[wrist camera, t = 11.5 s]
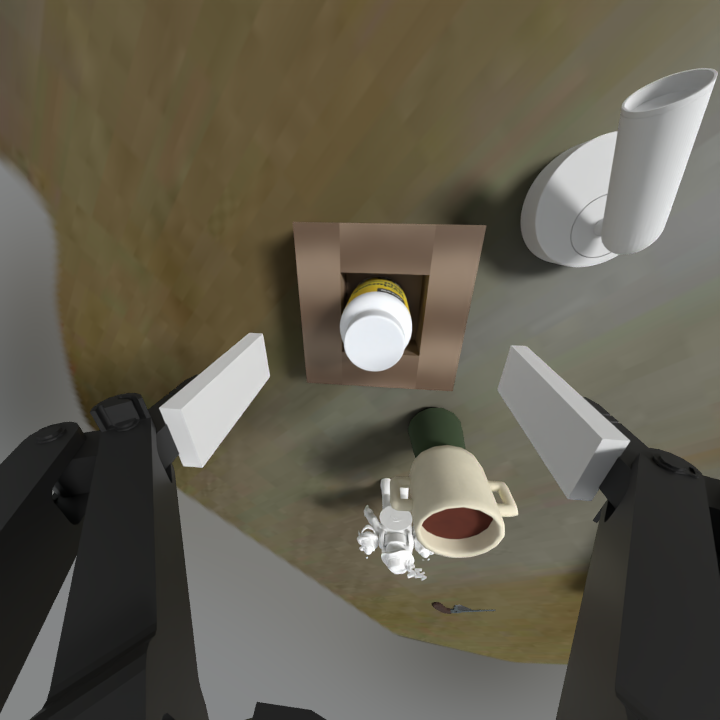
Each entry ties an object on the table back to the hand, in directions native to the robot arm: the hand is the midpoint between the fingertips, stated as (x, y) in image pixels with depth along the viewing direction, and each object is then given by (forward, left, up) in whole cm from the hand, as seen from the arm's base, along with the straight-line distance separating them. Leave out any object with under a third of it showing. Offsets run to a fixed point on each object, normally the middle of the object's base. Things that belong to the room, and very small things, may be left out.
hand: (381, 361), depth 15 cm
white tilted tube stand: (-9, +15, -14) cm, 22 cm away
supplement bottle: (0, -1, -13) cm, 13 cm away
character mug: (+15, +7, -14) cm, 22 cm away
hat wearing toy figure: (+26, +3, -14) cm, 30 cm away
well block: (0, 0, -13) cm, 13 cm away
